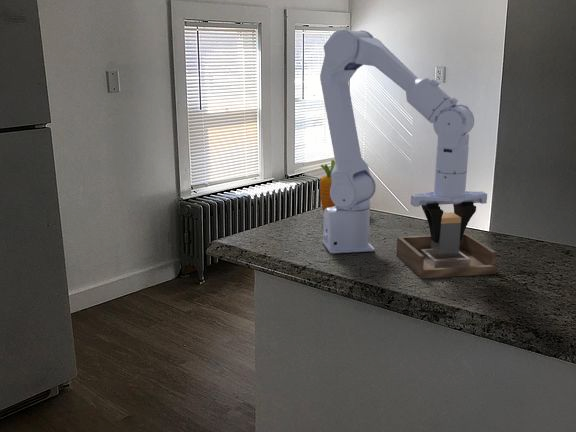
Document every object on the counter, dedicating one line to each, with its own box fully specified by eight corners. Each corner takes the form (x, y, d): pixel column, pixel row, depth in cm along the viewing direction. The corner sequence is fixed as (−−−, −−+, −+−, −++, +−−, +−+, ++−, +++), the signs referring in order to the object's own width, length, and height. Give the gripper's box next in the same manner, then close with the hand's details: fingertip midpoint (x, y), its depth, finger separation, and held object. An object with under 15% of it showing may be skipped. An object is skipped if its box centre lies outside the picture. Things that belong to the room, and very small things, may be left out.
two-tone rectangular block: (439, 253, 118) (441, 218, 116) (430, 247, 122) (433, 213, 120) (458, 252, 118) (461, 217, 117) (450, 246, 122) (452, 212, 120)
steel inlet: (434, 268, 116) (434, 261, 116) (420, 256, 123) (420, 249, 123) (470, 266, 117) (470, 259, 117) (454, 254, 124) (454, 247, 124)
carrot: (325, 225, 147) (326, 163, 143) (315, 220, 151) (316, 160, 147) (343, 223, 149) (345, 161, 145) (332, 218, 153) (334, 158, 149)
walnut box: (420, 278, 113) (421, 257, 112) (396, 255, 125) (397, 236, 124) (496, 273, 115) (498, 253, 114) (465, 251, 128) (467, 233, 127)
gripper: (422, 176, 111) (418, 248, 114) (497, 174, 113) (491, 244, 116) (408, 169, 117) (404, 237, 121) (479, 167, 120) (474, 234, 123)
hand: (446, 240), depth 119 cm, fingers closed on two-tone rectangular block, 4 cm apart
